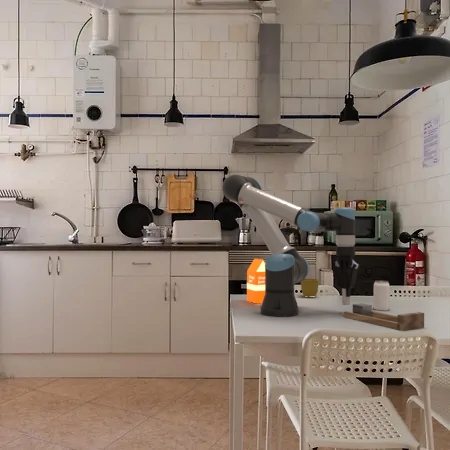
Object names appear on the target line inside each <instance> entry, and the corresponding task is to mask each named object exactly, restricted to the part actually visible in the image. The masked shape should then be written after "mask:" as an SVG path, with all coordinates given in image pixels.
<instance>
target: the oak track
mask: <svg viewBox="0 0 450 450" xmlns="http://www.w3.org/2000/svg"><path fill="white" fill-rule="evenodd" d="M343 317H344V318H346V319H351V320H355V321H358V322H359V321H360V322H363V323H368V324H371V325H376V326H380V327H384V328H389V329H394V330H397V331H401V330H404V331H409V330H410V331H411V330H417V329H423V328H425V313H424V312H420V311H418V312H417V311H416V312H410V313H409V312H408V313H401V314H397V315H393V314H389V313H384V312H378V311H375V310H372V317H370V316H365V315H361V314H356V313H353V312H350V311H343Z"/></svg>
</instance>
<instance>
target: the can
mask: <svg viewBox="0 0 450 450" xmlns="http://www.w3.org/2000/svg"><path fill="white" fill-rule="evenodd" d="M390 290H391V287H390V283H389V281H388V280H375V281H374V283H373V309H374V311H383V312H385V311H387V312H388V311H389V310H390V307H391V305H390V303H391V301H390V299H391V298H390V297H391V292H390Z"/></svg>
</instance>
